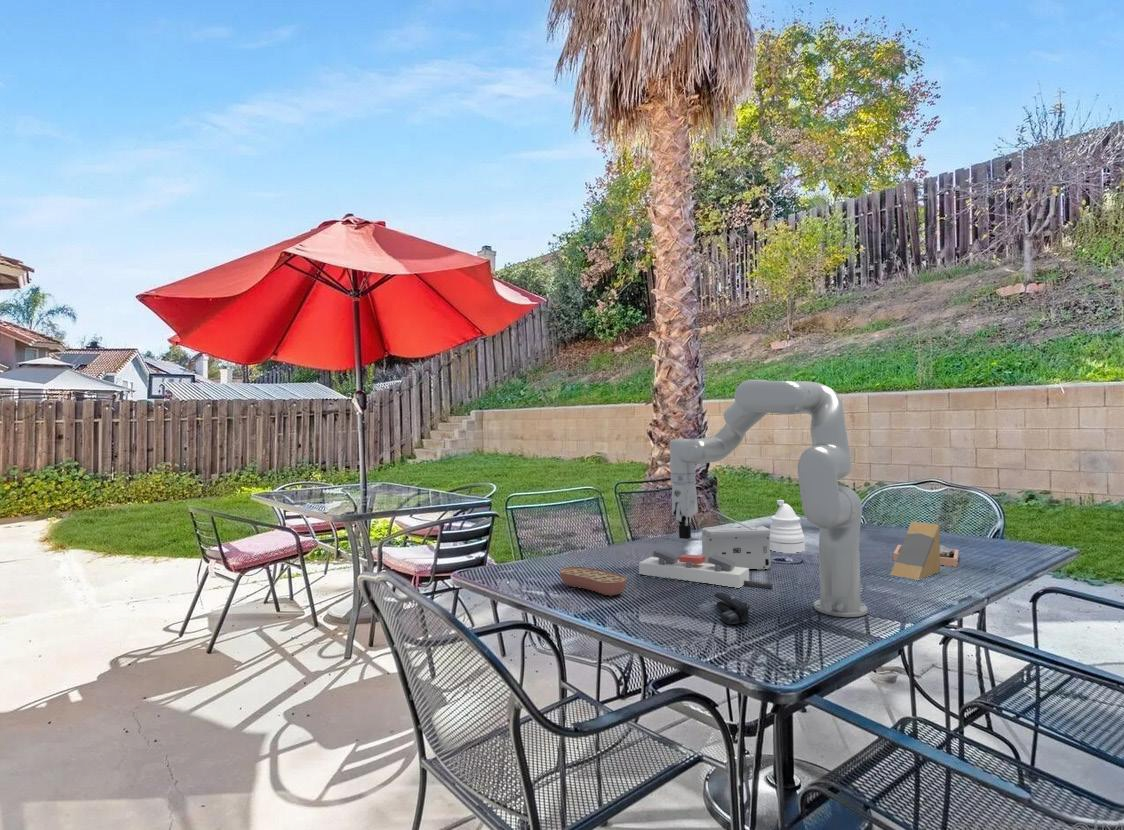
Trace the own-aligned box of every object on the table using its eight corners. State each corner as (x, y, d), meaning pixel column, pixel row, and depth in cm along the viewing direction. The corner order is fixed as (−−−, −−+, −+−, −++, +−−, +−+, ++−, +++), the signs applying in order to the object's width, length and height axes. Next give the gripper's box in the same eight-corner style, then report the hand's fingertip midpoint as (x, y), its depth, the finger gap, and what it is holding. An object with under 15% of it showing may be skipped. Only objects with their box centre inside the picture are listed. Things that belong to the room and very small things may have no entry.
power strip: (767, 592, 180) (767, 572, 180) (639, 575, 202) (638, 557, 202) (776, 585, 188) (775, 565, 188) (651, 569, 209) (651, 551, 209)
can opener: (756, 627, 153) (755, 603, 153) (727, 628, 153) (727, 605, 153) (731, 604, 171) (731, 583, 171) (705, 605, 170) (705, 584, 170)
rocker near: (729, 572, 188) (731, 565, 188) (707, 563, 192) (708, 557, 192) (734, 568, 192) (735, 562, 192) (712, 560, 196) (713, 554, 195)
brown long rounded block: (553, 587, 191) (553, 570, 191) (576, 580, 198) (576, 564, 198) (612, 602, 175) (612, 584, 175) (635, 594, 182) (634, 577, 182)
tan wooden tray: (957, 567, 203) (957, 559, 203) (893, 560, 213) (893, 553, 213) (958, 557, 216) (958, 549, 216) (898, 551, 225) (898, 544, 225)
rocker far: (672, 565, 198) (673, 559, 198) (652, 556, 202) (653, 551, 201) (677, 562, 202) (679, 556, 201) (658, 554, 205) (659, 548, 205)
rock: (904, 559, 216) (903, 545, 216) (915, 554, 222) (914, 539, 222) (946, 565, 206) (946, 550, 206) (956, 559, 213) (956, 544, 213)
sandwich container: (887, 576, 195) (887, 527, 195) (911, 567, 204) (910, 520, 204) (917, 581, 188) (916, 531, 188) (940, 572, 197) (939, 524, 197)
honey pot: (779, 554, 226) (778, 503, 225) (761, 547, 238) (760, 498, 238) (812, 552, 228) (811, 501, 228) (792, 544, 241) (791, 496, 241)
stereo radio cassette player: (764, 564, 212) (763, 504, 212) (773, 570, 204) (772, 508, 204) (701, 566, 211) (700, 506, 211) (708, 572, 203) (706, 510, 203)
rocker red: (700, 565, 193) (700, 558, 193) (679, 563, 197) (678, 557, 197) (706, 562, 197) (705, 555, 197) (684, 560, 201) (684, 554, 201)
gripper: (685, 481, 190) (687, 543, 190) (703, 476, 202) (705, 534, 202) (661, 481, 194) (663, 541, 194) (681, 476, 206) (682, 533, 206)
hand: (685, 538), depth 198 cm, fingers closed
